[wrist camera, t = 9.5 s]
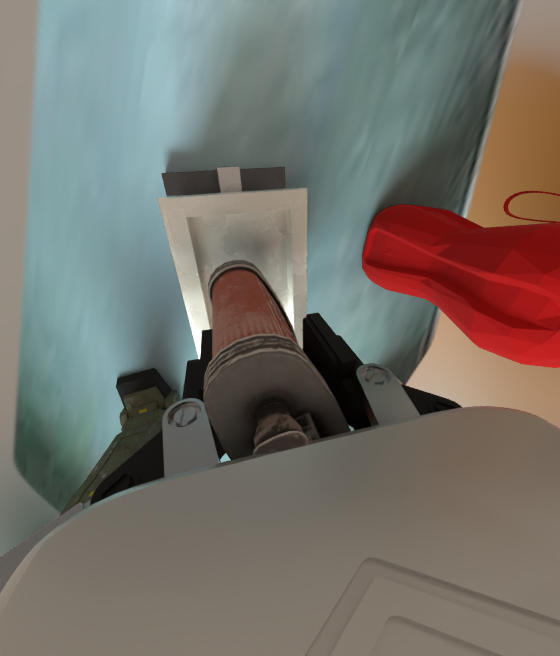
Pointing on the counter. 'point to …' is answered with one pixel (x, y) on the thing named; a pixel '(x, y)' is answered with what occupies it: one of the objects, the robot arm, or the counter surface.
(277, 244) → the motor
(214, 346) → the lighter
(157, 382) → the mechanical leg
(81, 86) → the counter surface
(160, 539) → the robot arm
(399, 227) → the water bottle
